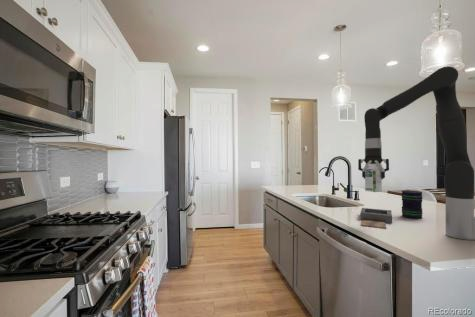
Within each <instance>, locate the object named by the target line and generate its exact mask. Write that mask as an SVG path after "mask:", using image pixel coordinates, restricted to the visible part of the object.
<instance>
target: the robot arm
mask: <svg viewBox="0 0 475 317" xmlns="http://www.w3.org/2000/svg"><path fill="white" fill-rule="evenodd" d="M458 71H459V70H458V69H457V68H456V67H453V66H441V67H440V68H438V69H436V70H435V71H434V72H432V73H431V74H430V75H428V76H427V77H426V78H424V79H422V80H421V81H419V82H418V83H417V84H415V85H413V86H412V87H410V88H408V89H406V90H404V91H403V92H400V93H399V94H397V95H395V96H393V97H391V98H389V99H388V100H386V101H384V102H383V103H382V104H381V105H379V106H378V107H376V108H373V107H371V108H369V109H367V110H365V113H364V126H365V135H364V138H365V141H364V159H362V158H359V159H358V165H357V166H358V168H357V169H358V171H360V172H361V176H362V178H363V179H364V180H365V170H366V168H367V167H368V164H379V165H378V167H379V168H380V169H381V170H382V180H384V179H385V178H386V172H387V171H390V159H389V158H383V157H382V153H383V152H382V148H383V147H382V138H381V137H382V131H381V125H380V124H381V122H380V121H382V120H384V119H386V118H387V117H389V116H390V115H392V114H394V113H396V112H398V111H401V110H403V109H404V108H407V107H408V106H409V105H411V104H413V103H414V102H416V101H417V100H419V99H420V98H422V97H423V96H425V95H427V94H429V93H432V92H433V93H432V94H433V96H434V99H435V105H436V109H435V110H436V113H435V114H436V121H437V128H438V133H439V137H440V140H441V143H442V146H443V148H444V149H443V150H444V152H445V159H446V160H445V162H446V164H445V166H446V167H445V169H444V191H445V192H444V193H445V235H446V236H448V237H451V238H453V239H460V240H467V241H469V240H472V241H473V240H474V241H475V170H474V168H473V165H472V164H471V163H472V162H471V160H470V157H469V153H468V147H467V139H468V137H467V125H466V120H465V115H464V112H463V109H462V107H461V105H460V103H459V101H458V98H457V88H456V83H457V81H458V78H459V72H458ZM363 162H364V164H366V166H365V165H364V167H362V164H363ZM382 163H384V164H385V168H384V167H383V165H382V166H381V165H380V164H382Z"/></svg>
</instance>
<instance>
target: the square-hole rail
mask: <svg viewBox="0 0 475 317" xmlns="http://www.w3.org/2000/svg"><path fill="white" fill-rule="evenodd" d="M359 214H360V216H359V217H360V218H359V220H361V221H362V220H369V221H378V222H386V224H393V214H392V210H391V209H390V210H389V209H378V208H370V207H369V208H368V207H362V208H361V210H360V212H359Z"/></svg>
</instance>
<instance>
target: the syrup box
mask: <svg viewBox="0 0 475 317" xmlns="http://www.w3.org/2000/svg"><path fill="white" fill-rule="evenodd" d="M364 164H365V165H364V167H365V166H366V163H364ZM378 165H379V164H368V167H367V168H366V170H365V179H364V191H365V192H372V193H379V192H382V190H383V188H382V187H383V186H382V184H383V183H382V182H383V179H382V170H381V169H380V168H379V167H378ZM380 165H381V166H382V167H383V164H382V163H381V164H380Z"/></svg>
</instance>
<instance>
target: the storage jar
mask: <svg viewBox="0 0 475 317" xmlns="http://www.w3.org/2000/svg"><path fill="white" fill-rule="evenodd" d="M401 202H402V204H401V205H402V206H401V217H403V218H405V219H412V220H422V219H423V206H422V205H423V204H422V203H423V191H419V190H404V189H403V190H401Z"/></svg>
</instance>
